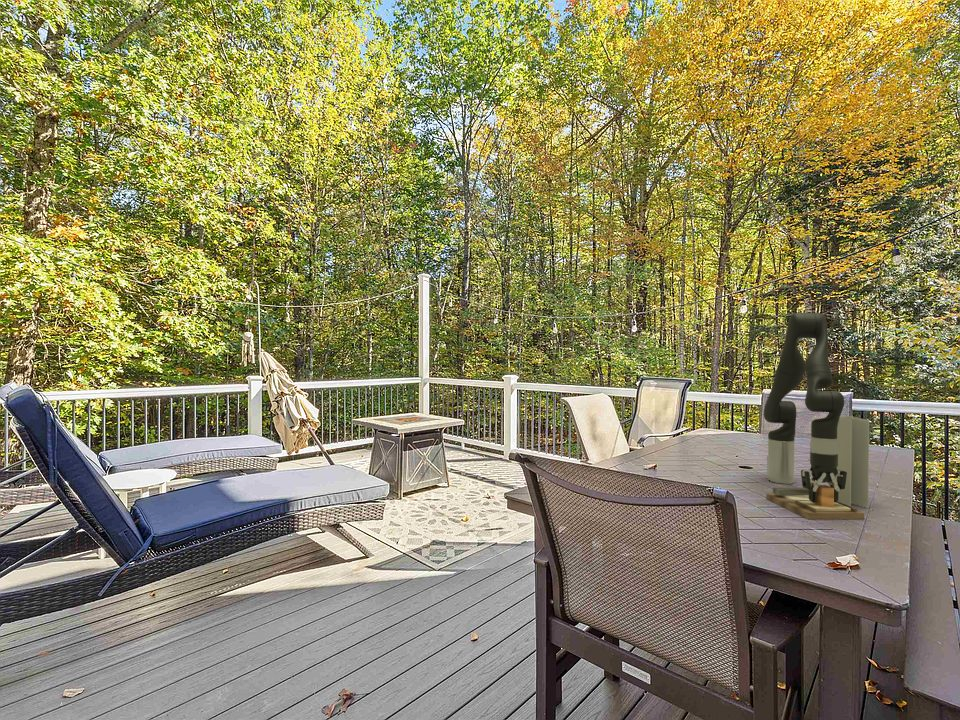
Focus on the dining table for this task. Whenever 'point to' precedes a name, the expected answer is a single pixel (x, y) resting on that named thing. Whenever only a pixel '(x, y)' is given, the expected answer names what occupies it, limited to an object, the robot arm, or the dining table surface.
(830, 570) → the dining table surface
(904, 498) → the dining table surface
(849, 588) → the dining table surface
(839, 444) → the folded green panel
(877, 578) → the dining table surface
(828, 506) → the wooden block on base
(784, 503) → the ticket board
